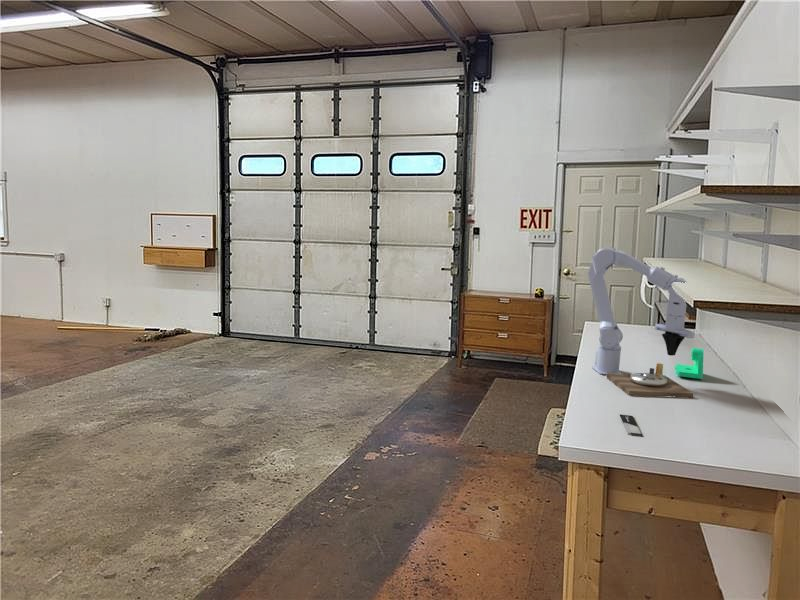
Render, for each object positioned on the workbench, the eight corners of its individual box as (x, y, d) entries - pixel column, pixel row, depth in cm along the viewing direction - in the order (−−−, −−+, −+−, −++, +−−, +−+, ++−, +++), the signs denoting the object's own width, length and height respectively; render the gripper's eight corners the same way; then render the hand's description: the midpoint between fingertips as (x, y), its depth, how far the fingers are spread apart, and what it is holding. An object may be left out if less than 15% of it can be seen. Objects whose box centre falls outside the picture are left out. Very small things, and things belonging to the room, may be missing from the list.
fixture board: (606, 377, 204) (606, 373, 203) (664, 379, 204) (664, 375, 204) (628, 395, 184) (629, 390, 184) (693, 397, 184) (693, 393, 184)
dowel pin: (648, 377, 200) (649, 368, 200) (652, 377, 200) (653, 368, 200) (649, 378, 199) (650, 369, 199) (654, 378, 199) (655, 369, 199)
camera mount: (674, 370, 217) (677, 343, 216) (697, 373, 215) (700, 345, 213) (677, 379, 206) (680, 350, 205) (702, 381, 204) (705, 352, 202)
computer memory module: (644, 434, 149) (627, 432, 150) (643, 438, 150) (626, 436, 150) (634, 415, 164) (619, 413, 165) (633, 419, 164) (618, 417, 165)
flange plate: (658, 389, 186) (660, 374, 185) (624, 381, 194) (625, 367, 193) (676, 381, 196) (677, 367, 196) (643, 373, 204) (644, 360, 203)
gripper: (702, 318, 192) (698, 359, 195) (667, 311, 206) (663, 349, 208) (686, 319, 190) (682, 360, 192) (651, 311, 203) (647, 350, 205)
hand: (671, 355), depth 200 cm, fingers closed
